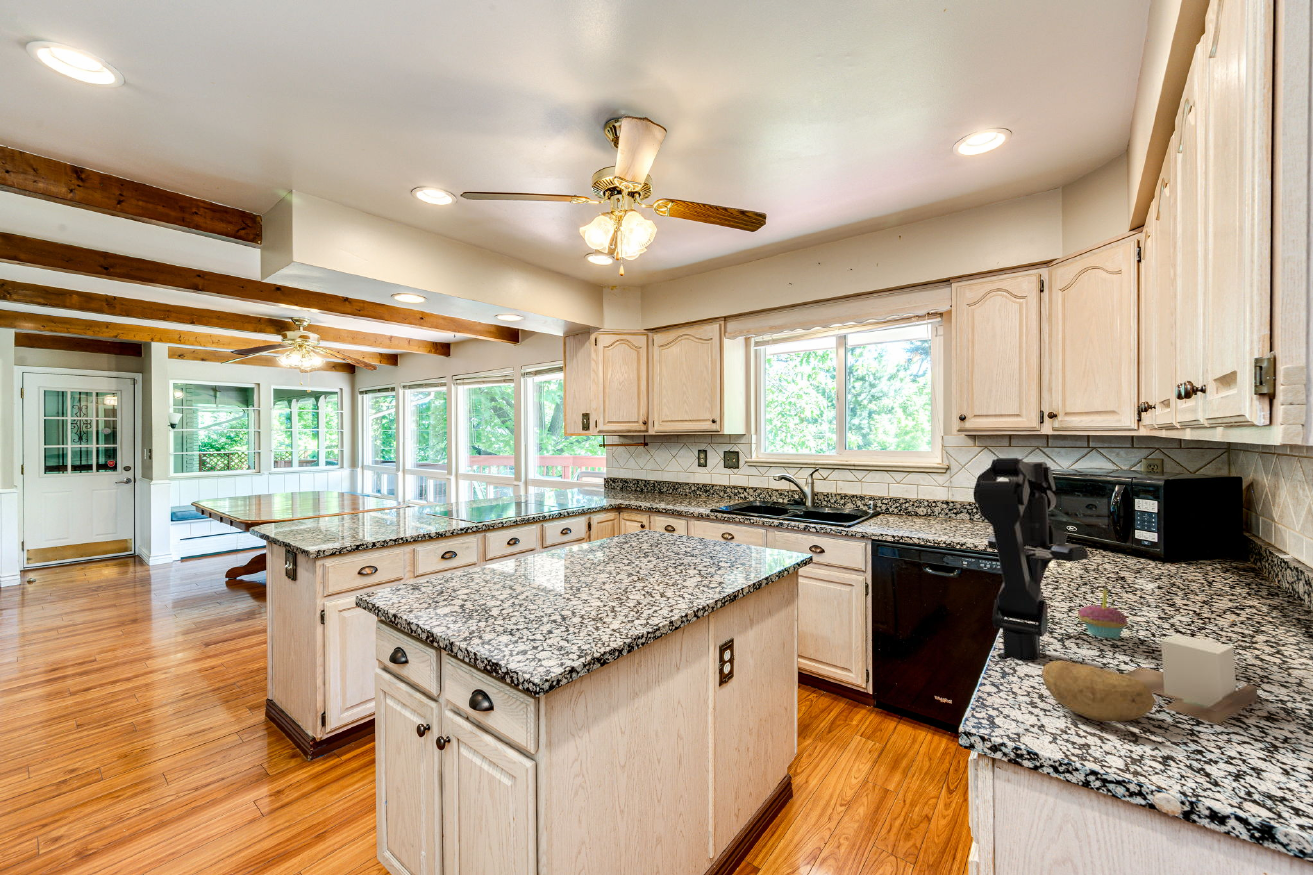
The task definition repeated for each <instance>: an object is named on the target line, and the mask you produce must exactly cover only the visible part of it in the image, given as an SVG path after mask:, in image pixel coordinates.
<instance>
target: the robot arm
mask: <svg viewBox="0 0 1313 875" xmlns="http://www.w3.org/2000/svg"><path fill="white" fill-rule="evenodd" d="M1053 476H1054V475H1053V471H1052V468H1051V466H1048V464H1047V462H1045V461H1023V459H1022V458H1018V457H997V458H996V459H995V458H994V459H992V461H991V464H990V466H989V467H988V468H987V469H985V470H984V471H983V472H982V473H980V474H979V475H978V476H977V479H976V482H975V485H974V488H973V500H974V502H975V504H976V505H977V507H978V511H979V514H980V516H981V517H982V518H984V520H985V521H986V522H988V523H989V524H990V525H991V527H992V532H993V536H990V537H989V538H988V540H987V548H988V549H990V550H996V552H997V556H998V560H999V566H1000V570H1001V574H1002V575H1001V576H1002V581H1003V582H1002V584H1001V586H1000V589H999V592H998V594H997V596H996V598H995V599H994V603H993V610H992V626H993V628H995V629H1002V637H1003V638H1002V640H1003V643H1002V644H1003V652H1000V653H997V654H996V656H997V657H998V658H1000V659H1003V660H1008V659H1013V660H1017V661H1020V662H1022V661H1027V662H1028V661H1029V662H1030V661H1031V662H1032V661H1038V660H1039V658H1040V656H1041V641H1040V640H1041V639H1040V637H1044V636H1045V634H1046V633H1047V632H1048V626H1049V625H1048V623H1049V622H1048V621H1049V620H1048V618H1049V617H1048V615H1049V613H1048V612H1049V611H1048V608H1049V607H1048V603H1047V600H1044V596H1043V593H1042V592H1043V591H1042V587H1041V583H1042V580H1043V578H1044V575H1045V573H1046V571H1047V568H1048V566H1049V565H1050V563H1052V561H1054V560H1057V561H1063V562H1078V561H1083V560H1088V559H1089V554H1088V552H1089V551H1088V550H1087V549H1086V548H1085V546H1084V545H1082V544H1080V545H1079V544H1071V543H1066V542H1067V537H1068V533H1067V532H1066V531H1063V530H1060V529H1058V528H1055V527H1054V523H1053V520H1049V511H1051V510H1053V509H1054V508H1055V506H1056V504H1057V498H1056V496H1055V494H1054V493H1053V492H1052V491H1056V485H1055V480H1054V477H1053ZM998 478H1003V479H1006V480H1005V481H1004V480H1000V481H999V480H998ZM1007 480H1008V481H1007Z"/></svg>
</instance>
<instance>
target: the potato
mask: <svg viewBox="0 0 1313 875" xmlns="http://www.w3.org/2000/svg"><path fill="white" fill-rule="evenodd" d="M1041 674H1042V681H1043V683H1044V686H1045V688H1046V689H1047V691H1048V692H1049V693H1050V695H1051V697H1052V698H1054V700H1056V702H1058V703H1059V704H1061V705H1062V706H1063V707H1065V708H1066V709H1067V710H1069V711H1071V712H1073V713H1075V714H1077V715H1079V716H1081V717H1084V718H1086V719H1089V720H1093V721H1097V722H1101V723H1102V722H1105V723H1113V722H1115V723H1117V722H1127V721H1133V720H1136V719H1139V718H1140V719H1141V717H1143V716H1145V715H1146V714H1148V713H1149V712H1151V711H1153V708H1154V706H1155V704H1156V699H1155V698H1154V695H1153V692H1151V690H1150V688H1149V687H1148V686H1147V685H1146V684H1145V683H1143V682H1142V681H1139V680H1137V679H1135V678H1132V677H1130V676H1128V675H1124V674H1125V673H1123V674H1122V673H1118V672H1115V671H1112V670H1107V669H1104V668H1100V667H1096V666H1093V665H1086V664H1080V663H1076V662H1071V661H1065V660H1052V661H1049V662H1048V663H1046V664H1044V666H1043V668H1042V670H1041Z"/></svg>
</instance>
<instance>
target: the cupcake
mask: <svg viewBox="0 0 1313 875" xmlns="http://www.w3.org/2000/svg"><path fill="white" fill-rule="evenodd" d="M1107 597H1108V590H1107V586H1105V587H1104V589H1103V590H1102V604H1101V605H1100V604H1098V605H1097V604H1090V605H1086V606H1084V607H1082V608H1080V609H1079V610H1078V612H1077V617H1078V619H1079V621H1080V622H1082V623H1084V624H1085V626H1086V628H1087V631H1088V633H1089V634H1091V635H1093V636H1097V637H1100V638H1107V639H1108V638H1109V639H1115V640H1120V639H1119V638H1120V635H1121V634H1122V631H1123V629H1125V627H1127V626H1128V620H1127V616H1126V615H1125V614H1124V613H1122V612H1121V611H1119V610H1118V609H1116V608H1114V607H1110V606H1109V607H1108V606H1107V600H1108V598H1107Z"/></svg>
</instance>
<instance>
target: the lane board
mask: <svg viewBox="0 0 1313 875" xmlns="http://www.w3.org/2000/svg"><path fill="white" fill-rule="evenodd" d="M1123 674H1124V675H1128V676H1130V677H1132V678H1135V679H1137V680H1139V681H1142V682H1143V683H1145V684H1146V685H1147V686H1148V687H1149V688H1150V690H1151V692H1152V694H1153V693H1154V694H1156V695H1159V696H1163V697H1167V698H1169V699H1173V700H1174V701H1173V702H1171V703H1169V704H1167V705H1165V706H1164V707H1163V708H1164V709H1166V710H1170V711H1173V712H1175V713H1180V714H1183V715H1185V716H1189V717H1192V718H1195V719H1198V720H1201V721H1204V722H1207V723H1211V724H1214V725H1219V724H1220V723H1223V722H1225V721H1226V720H1227V719H1228V718H1230V717H1231V716H1234V715H1235V714H1236V713H1238V712H1240V711H1241V710H1243V709H1244V708H1246V707H1248V705H1250V704H1252V703H1254V702H1255V701H1257V700H1258V698H1259V697H1258V686H1257V685H1253V684H1249V683H1248V684H1246V685H1244V686H1242V687H1241V688H1239V689H1238V690H1237V689H1236V692H1234V693H1232V694H1230V695H1229V696H1227V697H1225V698H1224V699H1222V700H1220V701H1219V702H1217V703H1215V704H1214V705H1212V706H1210V707H1207V706H1204V705H1201V704H1198V703H1194V702H1191V701H1188V700H1184V699H1181V698H1178V697H1174V696H1171V695H1168V694H1164V679H1163V671H1158V670H1155V669H1151V668H1148V667H1144V666H1139V667H1136V668H1135V669H1131V670H1129V671H1128V672H1126V673H1123Z"/></svg>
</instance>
